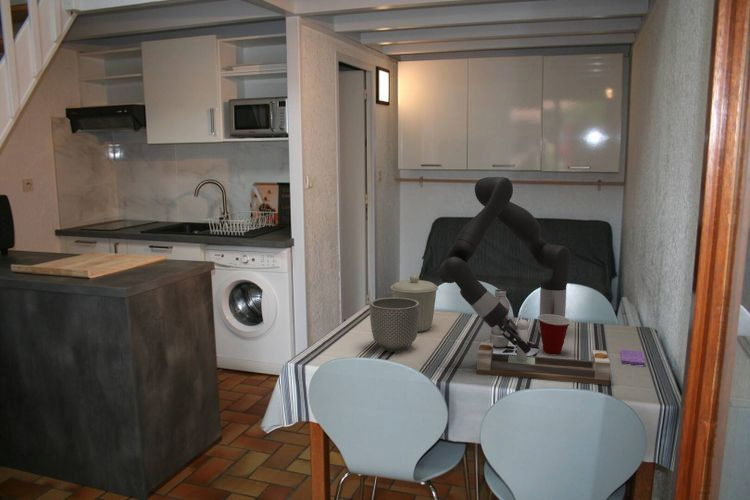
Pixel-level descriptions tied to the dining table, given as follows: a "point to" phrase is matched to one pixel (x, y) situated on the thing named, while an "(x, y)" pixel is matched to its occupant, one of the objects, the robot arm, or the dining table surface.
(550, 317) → the plastic cup
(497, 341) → the plastic bottle
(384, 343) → the planter
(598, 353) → the rail track
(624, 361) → the sponges
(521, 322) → the carriage
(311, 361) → the dining table surface
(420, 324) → the canister
